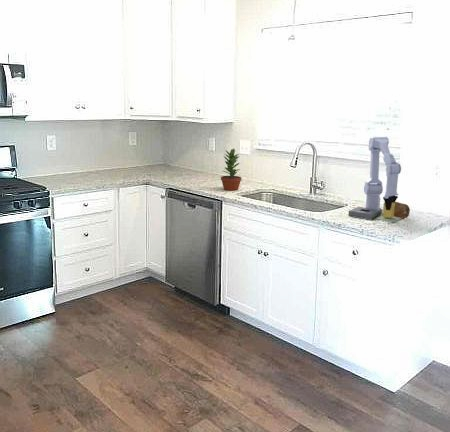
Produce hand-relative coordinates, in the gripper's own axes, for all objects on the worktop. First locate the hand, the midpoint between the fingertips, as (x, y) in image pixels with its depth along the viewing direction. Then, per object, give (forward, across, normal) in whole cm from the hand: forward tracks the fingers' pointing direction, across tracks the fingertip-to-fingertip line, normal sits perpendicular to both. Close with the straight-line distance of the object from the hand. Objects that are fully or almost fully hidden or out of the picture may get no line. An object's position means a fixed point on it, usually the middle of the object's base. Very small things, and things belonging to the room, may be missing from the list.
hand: (389, 209), depth 289 cm
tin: (+6, +9, -3) cm, 11 cm away
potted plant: (+6, +10, +118) cm, 118 cm away
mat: (+6, 0, 0) cm, 6 cm away
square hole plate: (+6, -1, +14) cm, 15 cm away
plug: (+4, 0, 0) cm, 4 cm away
